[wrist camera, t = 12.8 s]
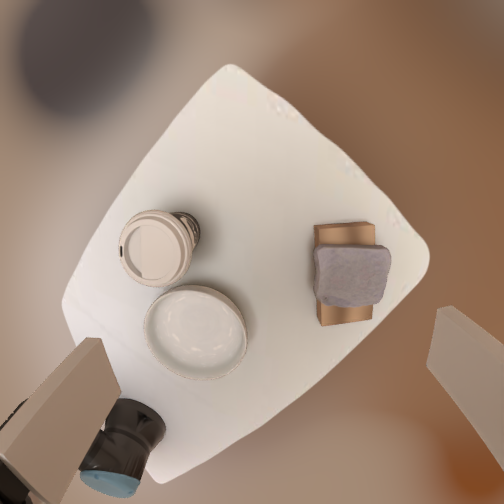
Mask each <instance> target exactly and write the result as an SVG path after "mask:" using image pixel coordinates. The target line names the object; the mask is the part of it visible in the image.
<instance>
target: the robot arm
mask: <svg viewBox="0 0 504 504" xmlns="http://www.w3.org/2000/svg"><path fill="white" fill-rule="evenodd" d="M426 366H427V368H428V369H429V370H430V371H431V373H432V374H433V375H434V376H435V377H436V379H437V380H438V381H439V382H440V384H441V385H442V386H443V388H444V389H445V390H446V391H447V393H448V394H449V395H450V397H451V398H452V399H453V400H454V402H455V403H456V404H457V406H458V407H459V408H460V410H461V411H462V412H463V414H464V415H465V416H466V418H467V419H468V420H469V422H470V423H471V424H472V426H473V427H474V429H475V430H476V431H477V433H478V434H479V435H480V437H481V438H482V440H483V441H484V442H485V444H486V445H487V447H488V448H489V450H490V451H491V453H492V454H493V455H494V457H495V459H496V460H497V461H498V463H499V464H500V466H501V468H502V469H503V471H504V345H503V344H502V343H500V342H499V341H498V340H497V339H495V338H494V337H493V336H492V335H490V334H489V333H488V332H486V331H485V330H484V329H483V328H481V327H480V326H479V325H477V324H476V323H474V322H473V321H472V320H471V319H469V318H468V317H467V316H465V315H464V314H463V313H461V312H460V311H459V310H457V309H456V308H454V307H453V306H447V307H443V308H439V309H437V315H436V322H435V327H434V332H433V337H432V342H431V347H430V351H429V355H428V359H427V363H426ZM120 394H121V389H120V387H119V385H118V382H117V380H116V377H115V375H114V372H113V370H112V367H111V365H110V362H109V359H108V357H107V354H106V351H105V348H104V345H103V343H102V340H101V338H87V337H86V338H85V339H84V340H83V341H82V342H81V343H80V344H79V345H78V346H77V347H76V349H74V351H73V352H72V353H71V354H70V355H69V356H68V357H67V358H66V359H65V360H64V361H63V362H62V363H61V364H60V365H59V366H58V367H57V368H56V369H55V370H54V371H53V372H52V373H51V375H50V376H49V377H48V378H47V379H46V380H45V381H44V382H43V383H42V384H41V385H40V386H39V387H38V388H37V390H36V391H35V392H34V393H33V394H32V395H31V396H30V397H29V398H28V399H26V400H25V401H23V402H22V403H21V404H20V405H19V406H18V407H17V408H16V409H15V410H14V413H12V414H11V415H10V416H9V417H8V420H6V421H5V422H4V423H3V424H2V425H1V426H0V504H60V502H61V500H62V498H63V496H64V494H65V492H66V491H67V489H68V487H69V485H70V483H71V481H72V479H73V477H74V475H75V473H76V472H77V470H78V469H79V470H80V471H81V472H80V478H81V480H82V481H83V482H84V483H85V484H86V485H88V486H89V487H91V488H92V489H94V490H97V491H99V492H101V493H103V494H106V495H109V496H113V497H119V498H129V497H131V496H133V495H134V494H135V492H136V490H137V487H138V485H139V484H140V480H141V477H142V474H143V471H144V468H145V465H146V462H147V460H148V457H149V454H150V452H151V451H152V450H153V449H154V448H155V447H156V445H157V444H158V443H159V442H160V441H161V440H162V439H163V437H164V434H165V431H166V427H165V424H164V422H163V420H162V419H161V417H160V416H159V415H158V414H157V413H156V412H155V411H153V410H152V409H151V408H149V407H148V406H146V405H144V404H142V403H140V402H137V401H134V400H130V399H118V397H119V395H120ZM105 419H106V421H105ZM104 421H105V429H104V431H102V430H101V429H100V428H101V426H102V425H103V423H104Z"/></svg>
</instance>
